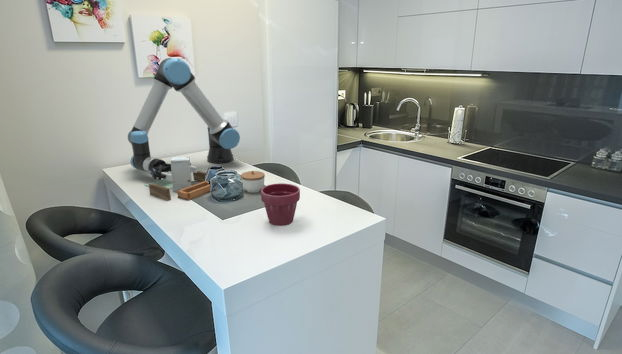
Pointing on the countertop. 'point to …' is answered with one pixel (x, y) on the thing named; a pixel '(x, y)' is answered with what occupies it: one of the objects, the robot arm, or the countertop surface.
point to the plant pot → (280, 202)
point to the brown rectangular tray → (194, 191)
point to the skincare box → (180, 173)
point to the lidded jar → (253, 181)
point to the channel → (165, 192)
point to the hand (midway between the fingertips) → (184, 173)
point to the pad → (162, 183)
